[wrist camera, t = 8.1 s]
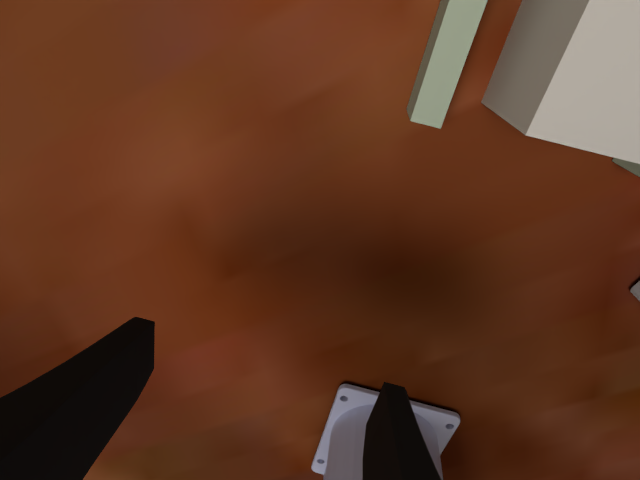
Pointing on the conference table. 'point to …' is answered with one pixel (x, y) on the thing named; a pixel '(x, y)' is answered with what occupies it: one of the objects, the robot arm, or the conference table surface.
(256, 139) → the conference table surface
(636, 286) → the string lights box
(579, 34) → the stepped cream block
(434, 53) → the pale green slab
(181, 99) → the conference table surface
